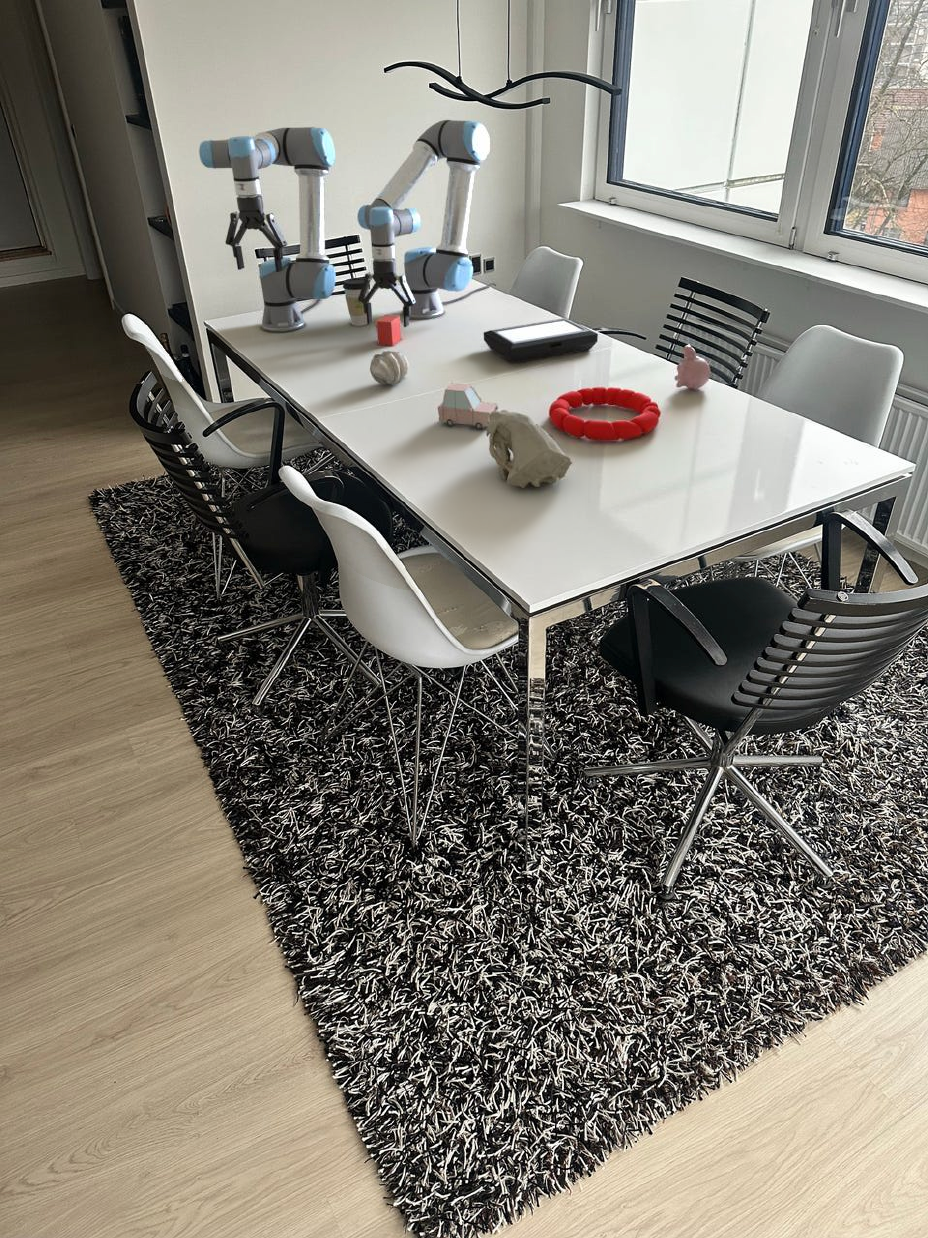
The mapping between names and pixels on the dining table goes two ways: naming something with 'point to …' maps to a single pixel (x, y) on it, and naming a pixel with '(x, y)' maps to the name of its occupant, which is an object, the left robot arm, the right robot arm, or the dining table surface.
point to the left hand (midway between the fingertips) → (260, 269)
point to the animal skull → (525, 450)
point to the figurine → (692, 370)
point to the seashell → (389, 367)
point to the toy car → (465, 406)
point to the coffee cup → (355, 300)
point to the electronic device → (540, 340)
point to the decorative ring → (604, 428)
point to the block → (388, 330)
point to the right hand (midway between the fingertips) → (388, 324)
